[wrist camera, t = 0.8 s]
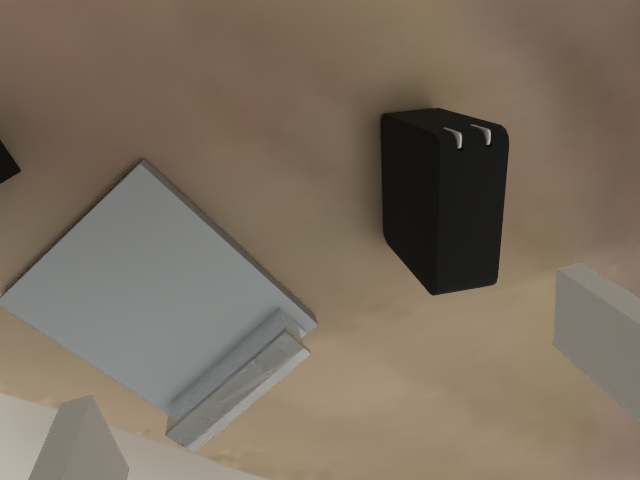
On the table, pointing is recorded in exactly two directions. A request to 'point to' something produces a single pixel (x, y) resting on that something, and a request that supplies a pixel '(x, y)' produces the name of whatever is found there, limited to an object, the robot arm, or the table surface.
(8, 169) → the digital camera
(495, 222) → the electronic device
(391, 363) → the table surface
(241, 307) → the mounting plate
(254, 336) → the rail
